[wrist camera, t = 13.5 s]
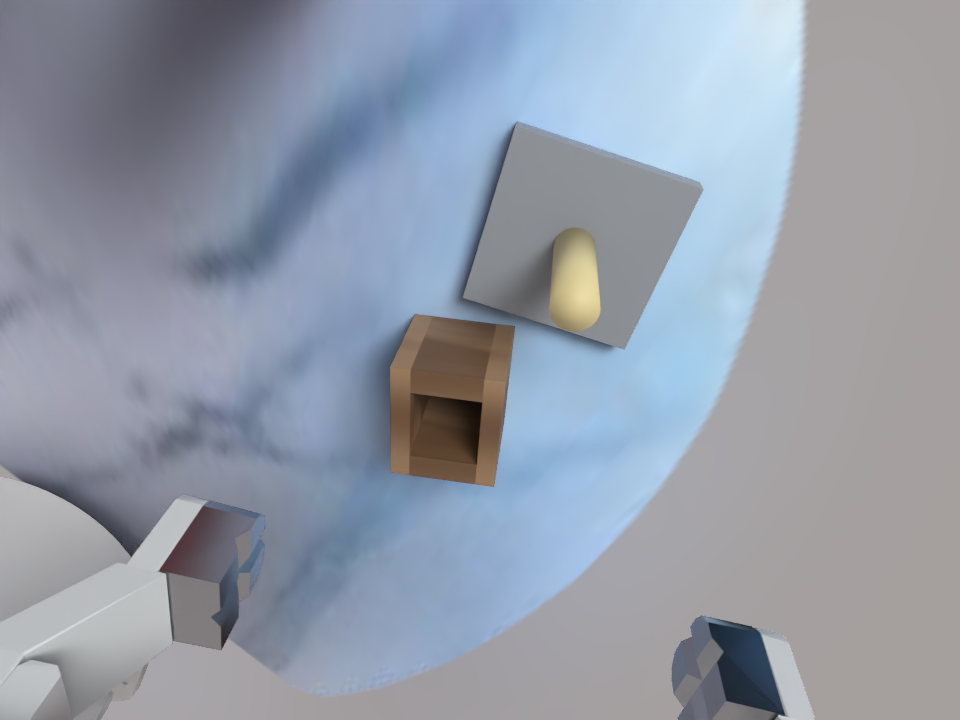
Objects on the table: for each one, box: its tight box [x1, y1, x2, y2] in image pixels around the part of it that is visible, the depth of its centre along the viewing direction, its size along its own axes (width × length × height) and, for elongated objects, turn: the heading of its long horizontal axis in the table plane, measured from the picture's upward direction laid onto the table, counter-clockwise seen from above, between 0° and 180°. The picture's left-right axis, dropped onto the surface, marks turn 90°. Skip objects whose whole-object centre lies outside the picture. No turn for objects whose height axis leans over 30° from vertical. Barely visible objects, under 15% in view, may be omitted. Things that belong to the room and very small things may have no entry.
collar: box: [390, 314, 515, 487], centre depth 30 cm, size 6×5×5 cm
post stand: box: [463, 122, 703, 349], centre depth 25 cm, size 8×8×7 cm
